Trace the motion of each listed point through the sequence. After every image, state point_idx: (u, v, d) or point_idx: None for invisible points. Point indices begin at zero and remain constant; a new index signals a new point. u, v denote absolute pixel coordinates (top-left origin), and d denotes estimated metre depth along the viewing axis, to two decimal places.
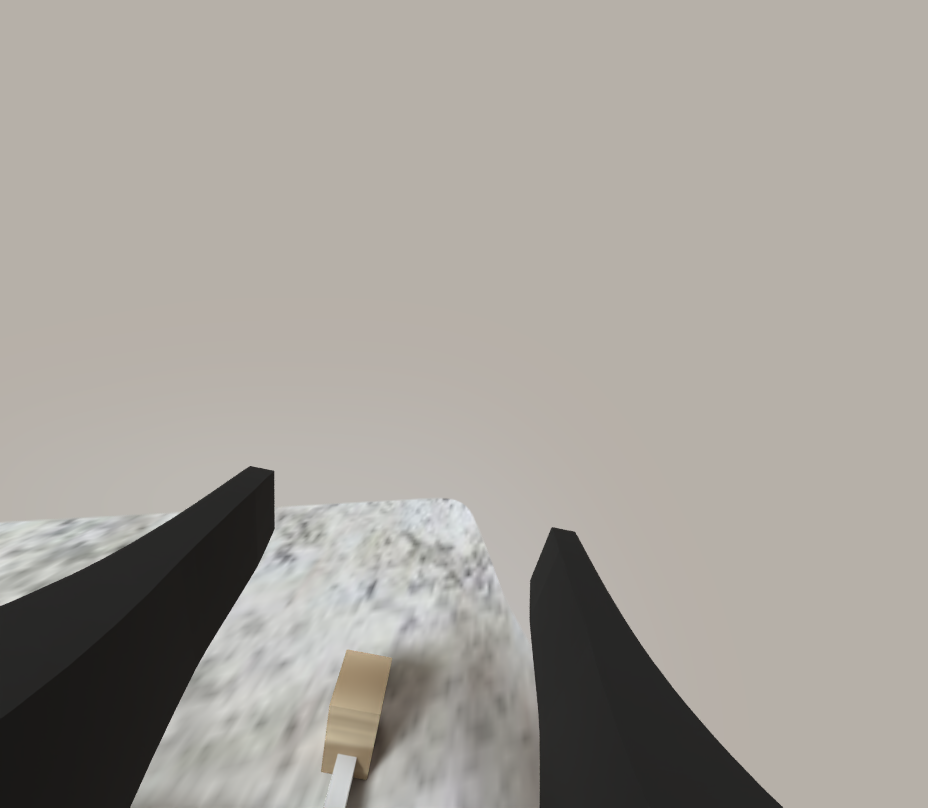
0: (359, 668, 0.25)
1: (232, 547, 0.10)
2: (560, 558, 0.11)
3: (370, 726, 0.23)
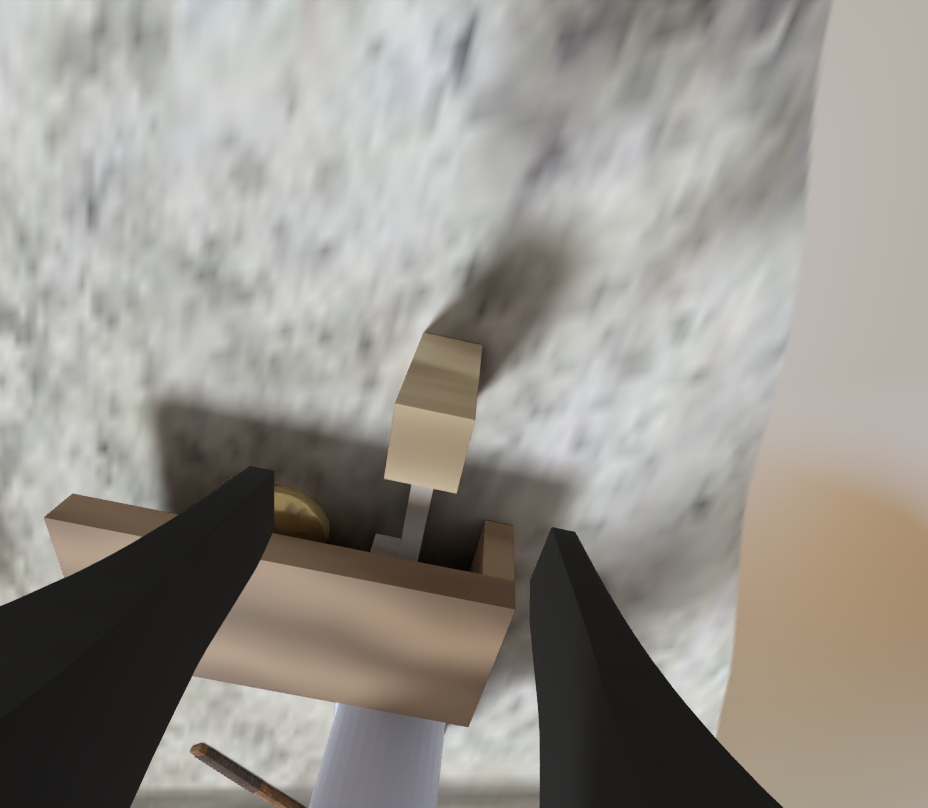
0: (420, 433, 0.15)
1: (231, 547, 0.10)
2: (560, 558, 0.11)
3: None
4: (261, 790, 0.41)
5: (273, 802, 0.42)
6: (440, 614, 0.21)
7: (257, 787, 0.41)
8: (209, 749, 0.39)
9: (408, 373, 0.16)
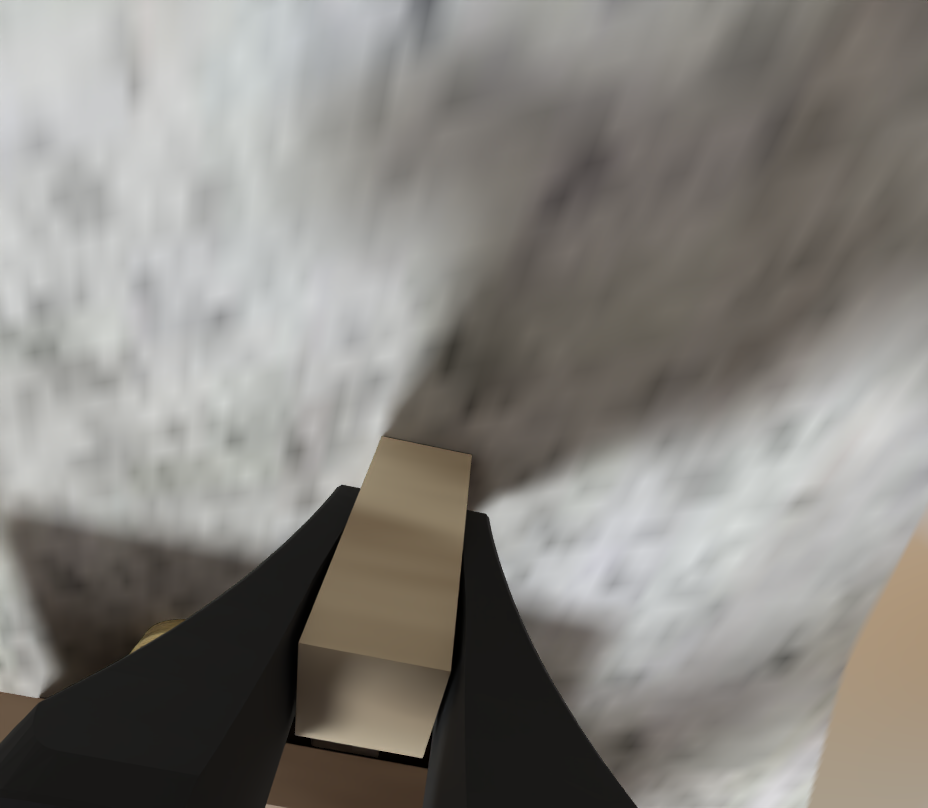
0: (351, 684, 0.08)
1: None
2: None
3: None
4: None
5: None
6: None
7: None
8: None
9: (340, 544, 0.09)
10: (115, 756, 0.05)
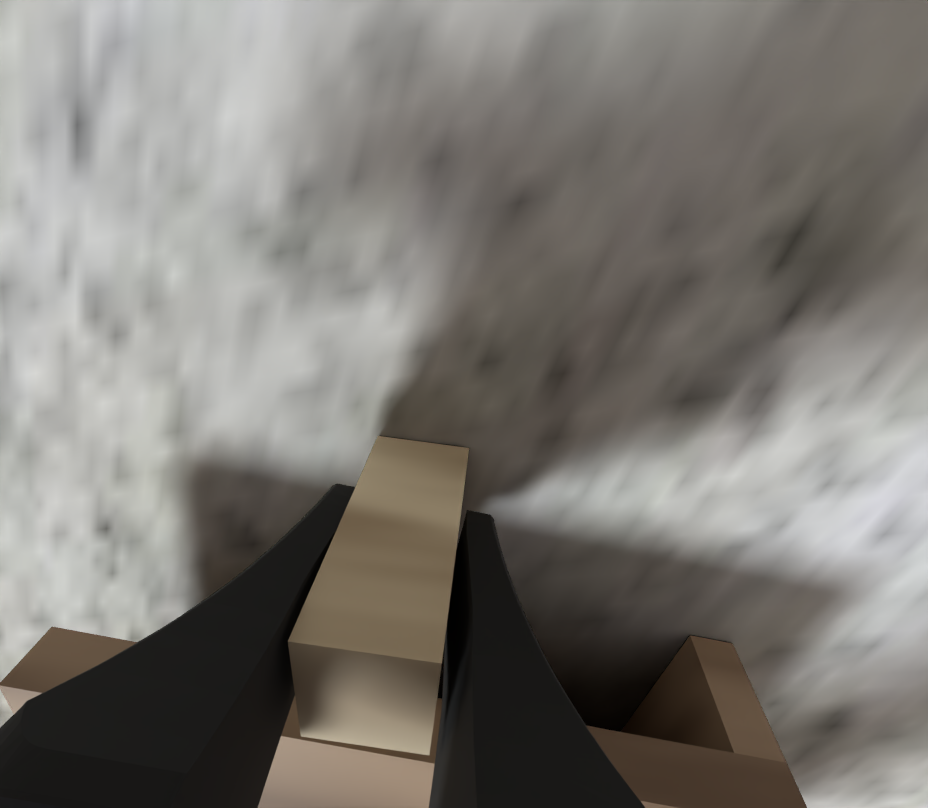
0: (346, 681, 0.08)
1: None
2: (466, 539, 0.10)
3: None
4: None
5: None
6: None
7: None
8: None
9: (333, 543, 0.09)
10: (102, 754, 0.05)
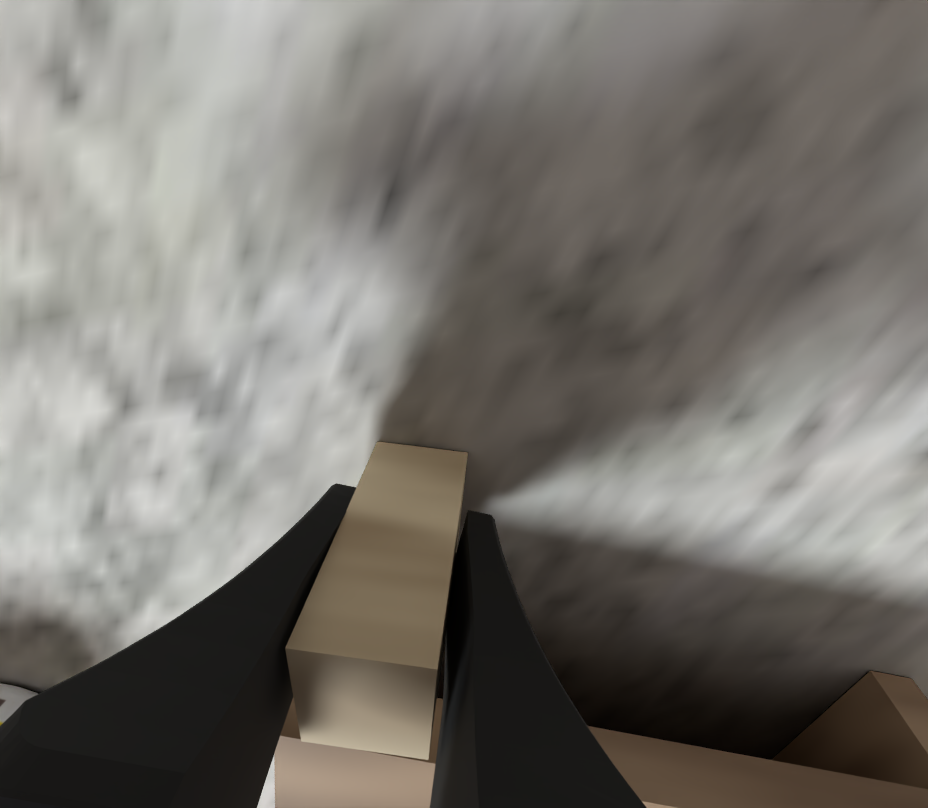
0: (343, 687, 0.08)
1: None
2: (467, 539, 0.10)
3: None
4: None
5: None
6: None
7: None
8: None
9: (331, 549, 0.09)
10: (100, 754, 0.05)
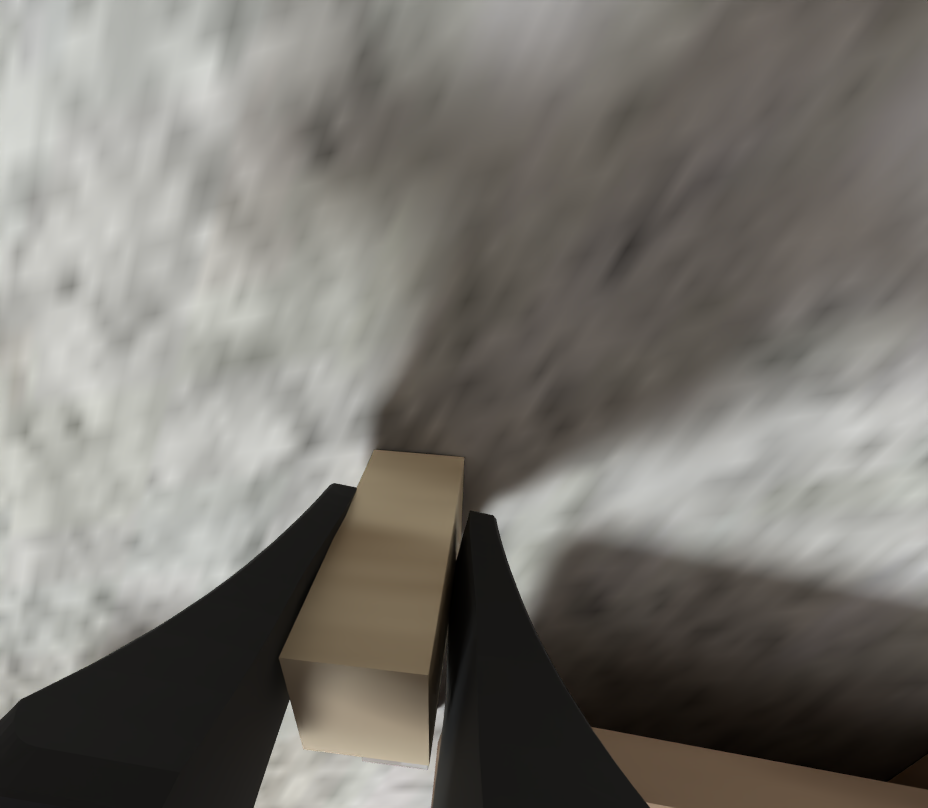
0: (339, 695, 0.08)
1: None
2: (469, 540, 0.10)
3: None
4: None
5: None
6: None
7: None
8: None
9: (326, 559, 0.10)
10: (95, 752, 0.05)
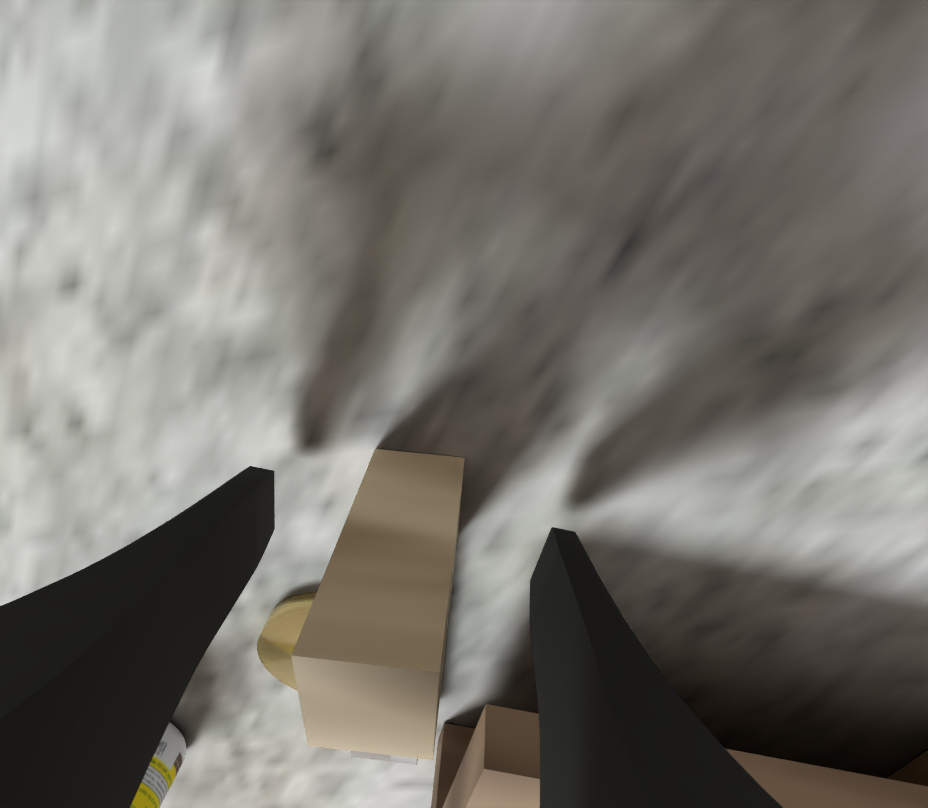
0: (348, 692, 0.08)
1: (232, 547, 0.10)
2: (560, 558, 0.11)
3: None
4: None
5: None
6: None
7: None
8: None
9: (333, 557, 0.10)
10: None
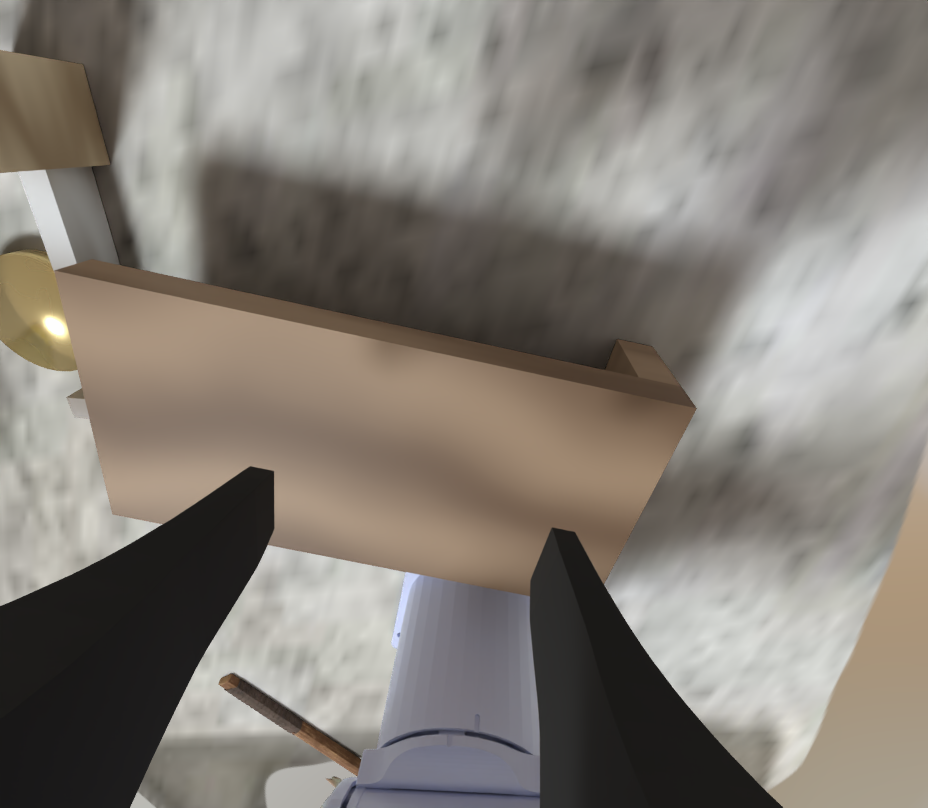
0: None
1: (231, 547, 0.10)
2: (560, 558, 0.11)
3: None
4: (303, 730, 0.36)
5: (318, 745, 0.36)
6: (589, 421, 0.15)
7: (298, 727, 0.35)
8: (240, 680, 0.34)
9: None
10: None
